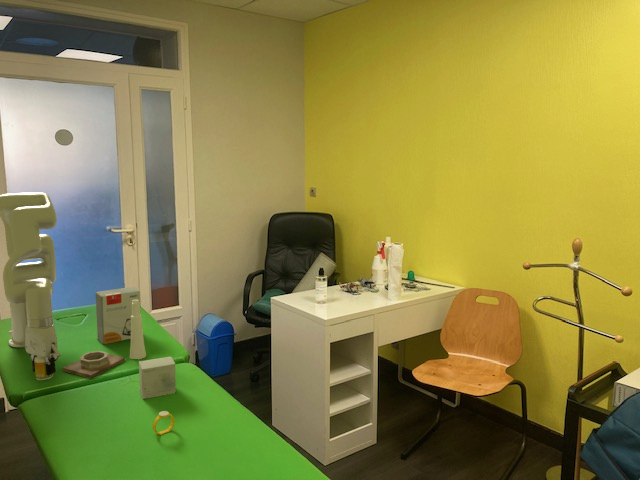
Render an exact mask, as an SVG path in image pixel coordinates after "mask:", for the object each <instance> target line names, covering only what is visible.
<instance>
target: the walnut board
mask: <svg viewBox="0 0 640 480" xmlns="http://www.w3.org/2000/svg"><path fill="white" fill-rule="evenodd" d="M125 361H126V357H123V356H119V355H115V354H112V353H108V352H106V351H102V350H95V351H88V352H86V353H84V354H81V355H80V359H79V360H77V361H74V362H72V363H70V364H68V365H65V366H63V367H62V372H64V373H65V372H66V373H69V374H73V375H77V376H80V377H84V378H88V379H93V378H95V377H97V376H98V375H100V374H102V373H104V372H106V371H108V370H110V369H112V368H115V367H116V366H118V365H119V364H122V363H124V362H125Z"/></svg>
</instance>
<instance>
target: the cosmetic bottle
mask: <svg viewBox="0 0 640 480" xmlns="http://www.w3.org/2000/svg"><path fill="white" fill-rule="evenodd" d="M132 302H133V303H132V315H131V339H130V347H129V359H130V358H131V360H133V359H138V360H143V359H144V358H146V357H147V352H146V347H145V340H144V339H145V338H144V330H143V329H144V328H143V318H142V315H140V310H141V302H140V303H139V300H137V299H135V300H132ZM142 358H143V359H142Z"/></svg>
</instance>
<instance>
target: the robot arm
mask: <svg viewBox="0 0 640 480" xmlns="http://www.w3.org/2000/svg"><path fill="white" fill-rule="evenodd" d="M0 219H1V220H2V223H3V225H4V231H5V232H4V233H5V241H6V243H5V244H6V251H7V252H6V253H7V257H8V258H9V259H8V260H7V261H6V263H5V264H4V268H3V271H2V281H3V282H2V283H3V289H4V294H5V295H4V296H5V298H6V299H5V300H6V301H7V302H8V303H9V308H10V320H11V328H10V329H11V330H9V331H7V334H8V335H9V336H10V335H11V338H10V339H9V340H8V345H9V346H10V347H13V348H24V349H25V351H26V353H28V355H29V357H30V360H31V361H32V362H31V363H32V364H31V365H32V372H34V373H35V362H34V359H35V357H36V356H40V357H45V359H46V362H47V364H46V375H48V376H49V375H51V374H55V373H56V371H57V370H56V362H57V360H58V359H59V358H60V357H61V353H60V351H59V349H58V340H57V339H58V337H57V333H56V329H55V328H56V327H55V325H54V318H53V317H54V314H53V303H52V294H53V293H54V286H53V284H54V283H55V282H56V280H57V268H56V267H57V265H56V252H55V249H56V248H55V244H54V240H53V238H52V237H51V236H50V235H49V234H45V233H41V232H40V231H41V230H52V229H54V228H55V227H56V226H57V221H58V220H57V213H56V209H55V207H54V205H53V203H52V200H51V197H50V196H49V194H47V193H45V192H16V193H3V194H0ZM31 260H41V261H31ZM24 261H29V262H24ZM30 261H31V262H30ZM49 356H51V359H49Z"/></svg>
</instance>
